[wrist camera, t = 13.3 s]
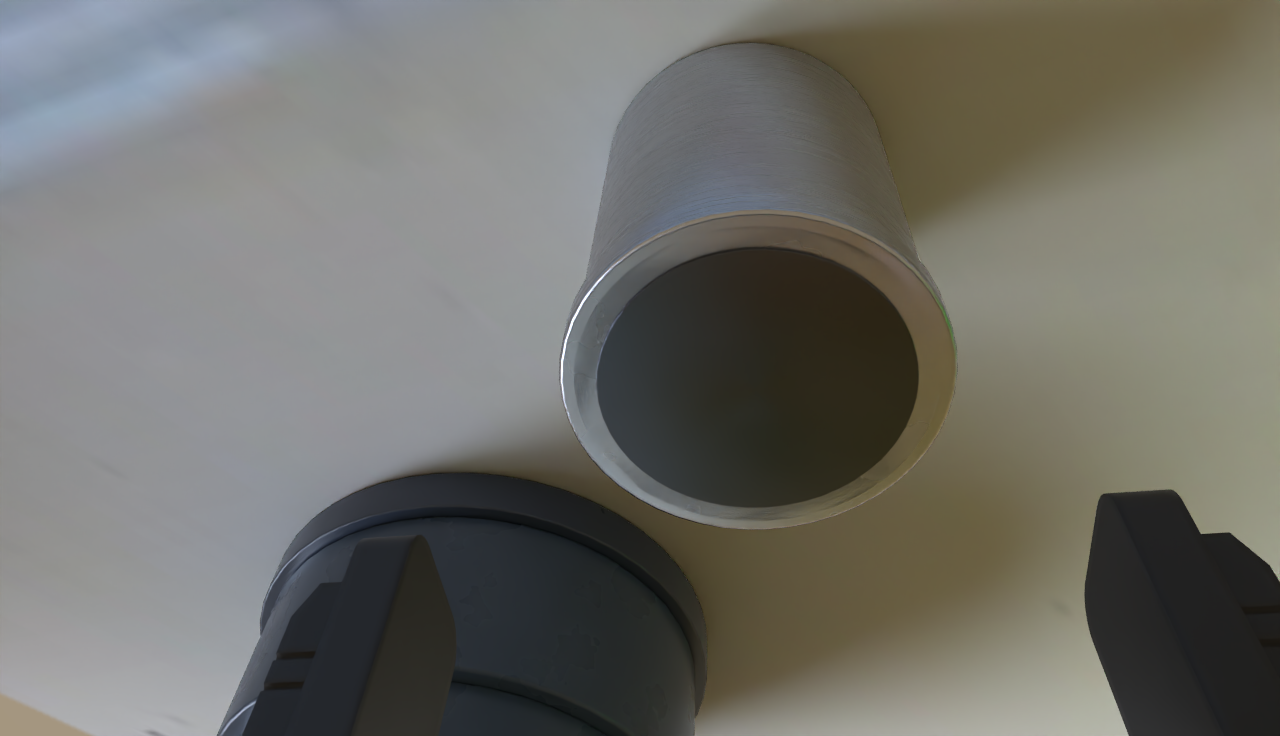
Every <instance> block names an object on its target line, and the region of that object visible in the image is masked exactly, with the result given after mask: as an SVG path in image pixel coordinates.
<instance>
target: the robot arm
mask: <svg viewBox="0 0 1280 736" xmlns="http://www.w3.org/2000/svg"><path fill="white" fill-rule="evenodd" d="M1085 609H1086V616H1087V622H1088V626H1089V630H1090V634H1091V637H1092V640H1093V643H1094V646H1095V648H1096V651H1097V653H1098V656H1099V659H1100V661H1101V664H1102V666H1103V669H1104V672H1105V674H1106V677H1107V680H1108V682H1109V685H1110V687H1111V690H1112V693H1113V695H1114V698H1115V700H1116V703H1117V706H1118V708H1119V711H1120V714H1121V716H1122V719H1123V721H1124V724H1125V727H1126V729H1127V732H1128V734H1129V736H1280V582H1279V580H1278V579H1277V577H1276V575H1275V574H1274V572H1273V570H1272V569H1271V567H1270V565H1268V564H1267V563H1266V562H1265V561H1264V560H1262V559H1261V558H1260V557H1259V556H1257V555H1256V554H1255V553H1254V552H1253V551H1251V550H1250V549H1249V548H1248V547H1246V546H1245V545H1244V544H1243V543H1242V542H1240V541H1239V540H1238V539H1237V538H1235V537H1234V536H1233V535H1232V534H1231V533H1212V534H1200V532H1199V530H1198V528H1197V526H1196V524H1195V523H1194V521H1193V519H1192V517H1191V515H1190V513H1189V512H1188V510H1187V508H1186V506H1185V504H1184V502H1183V501H1182V499H1181V498H1180V496H1179V495H1178V494H1177V493H1176V492H1175V491H1174V490H1154V491H1139V492H1123V493H1107V494H1103V495H1102V496H1101V497H1100V499H1099V501H1098V505H1097V510H1096V517H1095V523H1094V530H1093V536H1092V543H1091V549H1090V555H1089V562H1088V568H1087V575H1086V581H1085ZM456 647H457V642H456V628H455V622H454V618H453V614H452V611H451V608H450V605H449V602H448V599H447V597H446V594H445V591H444V588H443V585H442V582H441V579H440V576H439V573H438V570H437V567H436V564H435V561H434V558H433V555H432V552H431V549H430V547H429V544H428V542H427V540H426V538H425V537H424V536H422V535H407V536H391V537H375V538H363V539H361V540H360V541H359V542H358V543H357V545H356V547H355V549H354V551H353V554H352V557H351V559H350V562H349V565H348V567H347V570H346V573H345V575H344V578H343V581H342V582H332V583H320V585H319V586H318V587H317V588H316V589H315V590H314V591H313V592H312V594H311V595H310V596H309V597H308V598H307V599H306V600H305V601H304V603H303V604H302V605H301V606H300V607H299V608H298V609H297V610H296V612H295V613H294V614H293V615H292V616H291V618H290V621H289V623H288V626H287V628H286V630H285V633H284V635H283V638H282V640H281V642H280V645H279V647H278V650H277V652H276V655H277V658H276V660H274V661H273V662H272V664H271V667H270V669H269V671H268V674H267V676H266V679H265V681H264V690H263V691H260V693H259V696H258V698H257V700H256V703H255V705H254V708H253V710H252V713H251V715H250V717H249V720H248V722H247V725H246V727H245V729H244V732H243V734H242V736H438V735H439V731H440V727H441V723H442V718H443V714H444V710H445V706H446V701H447V697H448V693H449V689H450V685H451V680H452V676H453V672H454V667H455V661H456Z"/></svg>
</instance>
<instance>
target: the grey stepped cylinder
mask: <svg viewBox="0 0 1280 736" xmlns="http://www.w3.org/2000/svg"><path fill="white" fill-rule="evenodd" d="M407 535H422V536H424V537H425V538H426V540H427V542H428V544H429V547H430V549H431V552H432V555H433V558H434V561H435V564H436V567H437V570H438V573H439V576H440V579H441V582H442V585H443V588H444V591H445V594H446V597H447V599H448V602H449V605H450V608H451V611H452V614H453V618H454V622H455V628H456V642H457V647H456V661H455V667H454V672H453V676H452V680H451V685H450V689H449V693H448V697H447V701H446V706H445V710H444V714H443V718H442V723H441V727H440V731H439V735H438V736H694V728H695V718H696V716H697V714H698V711H699V709H700V706H701V703H702V700H703V698H704V693H705V686H706V680H707V638H706V625H705V621H704V617H703V613H702V609H701V606H700V604H699V601H698V599H697V597H696V595H695V592H694V590H693V588H692V586H691V585H690V583H689V582H688V580H687V579H686V577H685V576H684V574H683V573H682V571H681V569H680V568H679V567H678V566H677V564H676V563H675V562H674V561H673V560H672V559H671V558H670V557H669V555H668V554H667V553H666V552H665V551H664V550H663V549H662V548H661V547H660V546H659V545H658V544H656V543H655V542H654V541H653V540H652V539H651V538H649V537H648V536H647V535H646V534H645V533H644V532H642V531H641V530H640V529H638V528H637V527H635V526H634V525H632V524H631V523H629V522H628V521H626V520H625V519H623V518H622V517H620V516H619V515H617V514H615V513H613V512H611V511H609V510H607V509H605V508H603V507H601V506H600V505H598V504H596V503H594V502H592V501H589V500H587V499H584V498H582V497H579V496H577V495H574V494H572V493H569V492H567V491H564V490H561V489H557V488H554V487H550V486H547V485H543V484H540V483H536V482H533V481H527V480H522V479H516V478H511V477H505V476H498V475H486V474H475V473H440V474H430V475H422V476H413V477H407V478H402V479H398V480H394V481H389V482H385V483H381V484H378V485H375V486H372V487H370V488H367V489H364V490H361V491H359V492H356V493H354V494H352V495H350V496H348V497H346V498H344V499H342V500H340V501H338V502H337V503H335V504H333V505H331V506H330V507H328V508H327V509H326V510H324V511H323V512H322V513H320V514H319V515H318V516H316V517H315V518H313V519H312V520H311V521H310V522H309V523H308V524H307V525H306V526H305V527H304V528H303V529H302V530H301V531H300V532H299V533H298V534H297V535H296V537H295V538H294V540H293V541H292V543H291V544H290V546H289V547H288V549H287V550H286V552H285V554H284V556H283V558H282V560H281V563H280V565H279V567H278V569H277V571H276V574H275V576H274V578H273V580H272V582H271V585H270V587H269V589H268V592H267V594H266V597H265V599H264V602H263V607H262V613H261V618H260V639H259V641H258V644H257V646H256V648H255V650H254V653H253V655H252V657H251V659H250V662H249V664H248V666H247V668H246V671H245V673H244V675H243V677H242V680H241V682H240V684H239V687H238V689H237V691H236V693H235V696H234V698H233V700H232V702H231V705H230V707H229V709H228V711H227V714H226V716H225V718H224V720H223V723H222V725H221V727H220V729H219V732H218V734H217V736H242V734H243V732H244V729H245V727H246V725H247V722H248V720H249V717H250V715H251V713H252V710H253V708H254V705H255V703H256V700H257V698H258V696H259V693H260V691H263V690H264V681H265V679H266V676H267V674H268V671H269V669H270V667H271V664H272V662H273V661H274V660H276V658H277V655H276V652H277V650H278V647H279V645H280V642H281V640H282V638H283V635H284V633H285V630H286V628H287V626H288V623H289V621H290V618H291V616H292V615H293V614H294V613H295V612H296V610H297V609H298V608H299V607H300V606H301V605H302V604H303V603H304V601H305V600H306V599H307V598H308V597H309V596H310V595H311V594H312V592H313V591H314V590H315V589H316V588H317V587H318V586H319V585H320V583H332V582H342V581H343V578H344V575H345V573H346V570H347V567H348V565H349V562H350V559H351V557H352V554H353V551H354V549H355V547H356V545H357V543H358V542H359V541H360V540H361V539H363V538H375V537H391V536H407Z"/></svg>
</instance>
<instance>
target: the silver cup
mask: <svg viewBox="0 0 1280 736" xmlns="http://www.w3.org/2000/svg"><path fill="white" fill-rule="evenodd" d="M957 372H958V363H957V347H956V342H955V337H954V332H953V327H952V324H951V321H950V318H949V315H948V312H947V309H946V307H945V304H944V302H943V299H942V297H941V294H940V291H939V289H938V287H937V285H936V284H935V282H934V280H933V279H932V277H931V275H930V274H929V272H928V270H927V269H926V267H925V266H924V265H923V264H922V263H921V261H920V260H919V257H918V254H917V251H916V248H915V245H914V242H913V239H912V235H911V232H910V229H909V226H908V223H907V220H906V216H905V213H904V210H903V207H902V204H901V201H900V197H899V194H898V191H897V188H896V185H895V182H894V178H893V175H892V172H891V169H890V166H889V163H888V159H887V156H886V153H885V150H884V147H883V144H882V140H881V137H880V134H879V131H878V128H877V126H876V123H875V121H874V118H873V116H872V114H871V112H870V110H869V109H868V107H867V105H866V103H865V102H864V100H863V99H862V97H861V96H860V95H859V94H858V92H857V91H856V90H855V89H854V87H853V86H852V85H851V84H850V83H849V82H848V81H847V80H846V79H844V78H843V77H842V76H841V75H840V74H839V73H838V72H836V71H835V70H833V69H832V68H831V67H829V66H828V65H826V64H825V63H823V62H821V61H819V60H817V59H815V58H813V57H812V56H810V55H807V54H805V53H802V52H799V51H796V50H794V49H791V48H786V47H782V46H777V45H772V44H761V43H739V44H729V45H723V46H718V47H713V48H710V49H707V50H703V51H700V52H697V53H694V54H692V55H690V56H688V57H686V58H684V59H681V60H679V61H677V62H676V63H674V64H673V65H671V66H669V67H668V68H666V69H665V70H663V71H662V72H661V73H659V74H658V75H657V76H656V77H655V78H653V79H652V80H651V81H650V82H649V83H647V85H646V86H645V87H644V88H643V89H642V90H641V91H640V92H639V93H638V94H637V95H636V97H635V98H634V99H633V101H632V102H631V104H630V105H629V107H628V108H627V109H626V111H625V113H624V115H623V117H622V119H621V121H620V123H619V125H618V127H617V129H616V132H615V135H614V138H613V141H612V145H611V150H610V155H609V161H608V166H607V171H606V176H605V181H604V186H603V192H602V197H601V202H600V207H599V212H598V217H597V223H596V228H595V233H594V238H593V243H592V249H591V254H590V259H589V264H588V269H587V274H586V279H585V281H584V283H583V284H582V286H581V288H580V290H579V292H578V294H577V296H576V297H575V299H574V302H573V305H572V308H571V311H570V313H569V316H568V319H567V323H566V328H565V333H564V338H563V343H562V349H561V354H560V367H559V381H560V388H561V395H562V401H563V404H564V407H565V411H566V414H567V417H568V420H569V422H570V424H571V426H572V428H573V430H574V433H575V435H576V437H577V439H578V440H579V442H580V443H581V445H582V446H583V448H584V449H585V451H586V452H587V454H588V455H589V457H590V458H591V459H592V460H593V461H594V462H595V464H596V465H597V466H598V467H599V468H600V469H601V470H602V471H603V472H604V473H605V474H606V475H607V476H608V477H609V478H610V479H612V480H613V481H614V482H615V483H616V484H617V485H618V486H620V487H621V488H623V489H624V490H625V491H627V492H628V493H630V494H631V495H633V496H634V497H636V498H637V499H639V500H641V501H643V502H645V503H647V504H648V505H650V506H652V507H654V508H656V509H658V510H661V511H663V512H666V513H668V514H671V515H673V516H676V517H679V518H682V519H686V520H689V521H693V522H696V523H700V524H705V525H711V526H716V527H722V528H734V529H775V528H785V527H793V526H798V525H803V524H808V523H813V522H816V521H820V520H823V519H826V518H830V517H833V516H836V515H839V514H841V513H843V512H846V511H848V510H851V509H853V508H855V507H858V506H860V505H861V504H863V503H865V502H867V501H869V500H870V499H872V498H874V497H876V496H878V495H879V494H881V493H882V492H883V491H885V490H886V489H888V488H889V487H891V486H892V485H893V484H895V483H896V482H897V481H899V480H900V479H901V478H902V477H903V476H904V475H905V474H906V473H907V472H909V471H910V470H911V469H912V468H913V467H914V466H915V465H916V463H917V462H918V461H919V460H920V459H921V458H922V457H923V455H924V454H925V453H926V452H927V451H928V449H929V448H930V446H931V445H932V443H933V442H934V440H935V439H936V437H937V436H938V434H939V432H940V430H941V428H942V426H943V424H944V422H945V420H946V417H947V415H948V413H949V410H950V407H951V403H952V400H953V397H954V393H955V388H956V380H957Z"/></svg>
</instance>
